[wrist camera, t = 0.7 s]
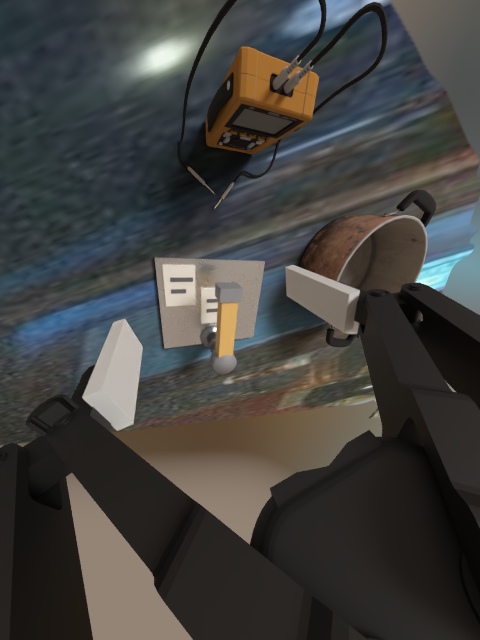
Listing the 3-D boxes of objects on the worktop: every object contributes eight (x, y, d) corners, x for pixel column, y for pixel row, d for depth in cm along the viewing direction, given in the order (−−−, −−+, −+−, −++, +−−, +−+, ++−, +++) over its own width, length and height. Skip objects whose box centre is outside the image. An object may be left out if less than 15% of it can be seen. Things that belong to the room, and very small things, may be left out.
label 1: (166, 305, 33) (166, 306, 32) (162, 264, 29) (162, 265, 29) (195, 304, 34) (195, 305, 34) (194, 265, 31) (195, 265, 31)
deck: (164, 350, 37) (165, 375, 32) (154, 256, 29) (153, 267, 23) (251, 339, 44) (264, 357, 39) (263, 260, 36) (282, 269, 30)
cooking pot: (337, 171, 33) (401, 156, 25) (399, 218, 44) (459, 219, 35) (273, 319, 44) (301, 345, 35) (334, 329, 54) (368, 351, 46)
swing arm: (230, 362, 35) (235, 372, 33) (210, 365, 34) (213, 376, 32) (238, 282, 28) (245, 288, 26) (212, 282, 27) (217, 288, 25)
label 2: (200, 322, 37) (201, 324, 36) (200, 288, 33) (201, 289, 33) (225, 320, 38) (226, 321, 38) (227, 287, 35) (228, 288, 35)
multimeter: (182, 207, 27) (216, 197, 11) (174, 110, 23) (214, -148, 6) (270, 213, 32) (383, 213, 16) (279, 135, 28) (452, 24, 11)
